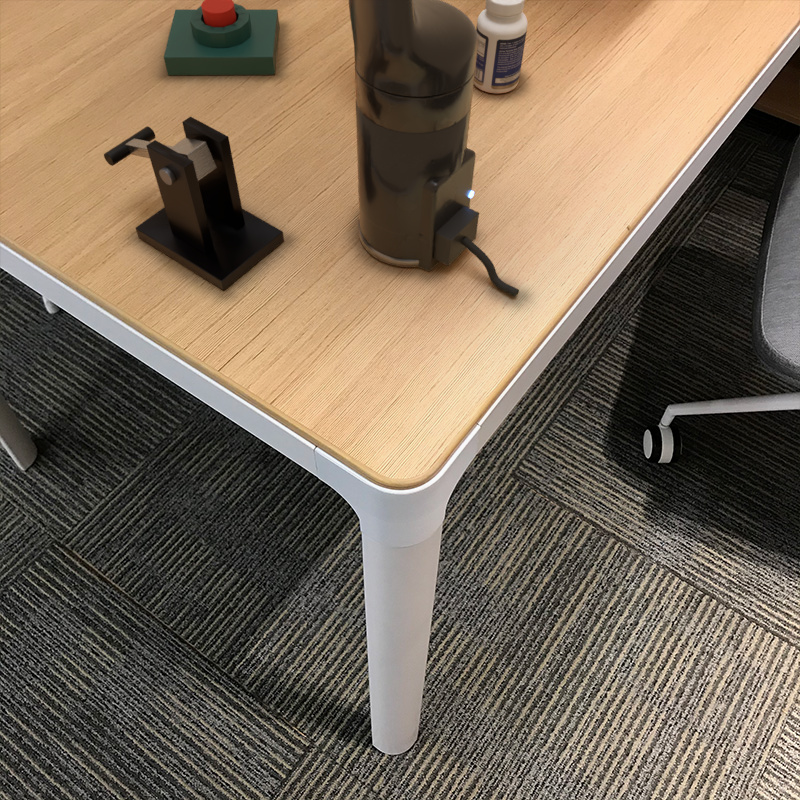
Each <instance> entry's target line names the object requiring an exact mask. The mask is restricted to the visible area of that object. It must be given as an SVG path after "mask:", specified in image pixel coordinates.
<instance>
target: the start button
mask: <svg viewBox="0 0 800 800" xmlns="http://www.w3.org/2000/svg"><path fill="white" fill-rule="evenodd" d="M234 3H235V2H234V0H203V1H202V2H201V4H200V5H201V7H202V13H203V18H204V22H205V24H206V25H208V26H211V27H225V26H228V25H232V24H233V23H235V22H236V13H235V6H234Z"/></svg>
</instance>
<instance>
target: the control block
mask: <svg viewBox="0 0 800 800" xmlns="http://www.w3.org/2000/svg"><path fill="white" fill-rule="evenodd" d="M234 6H235V13H236V22H235V23H233V24H232V25H228V26H225V27H211V26H208V25H206V24H205V22H204V18H203V13H202V7H201V6H199V7H198V8H197V9H174V13H173V18H172V21H171V25H170V29H169V33H168V37H167V38H168V39H167V42H166V46H165V51H164V54H163V61H164V64H165V69H166V73H167V76H274V75H276V69H277V59H278V58H277V57H278V47H279V36H280V17H279V10H278V9H272V8H271V9H266V8H265V9H260V8H259V9H255V8H254V9H253V8H252V9H247V8H245V6H243V5H241V4H237V3H235V2H234Z"/></svg>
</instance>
